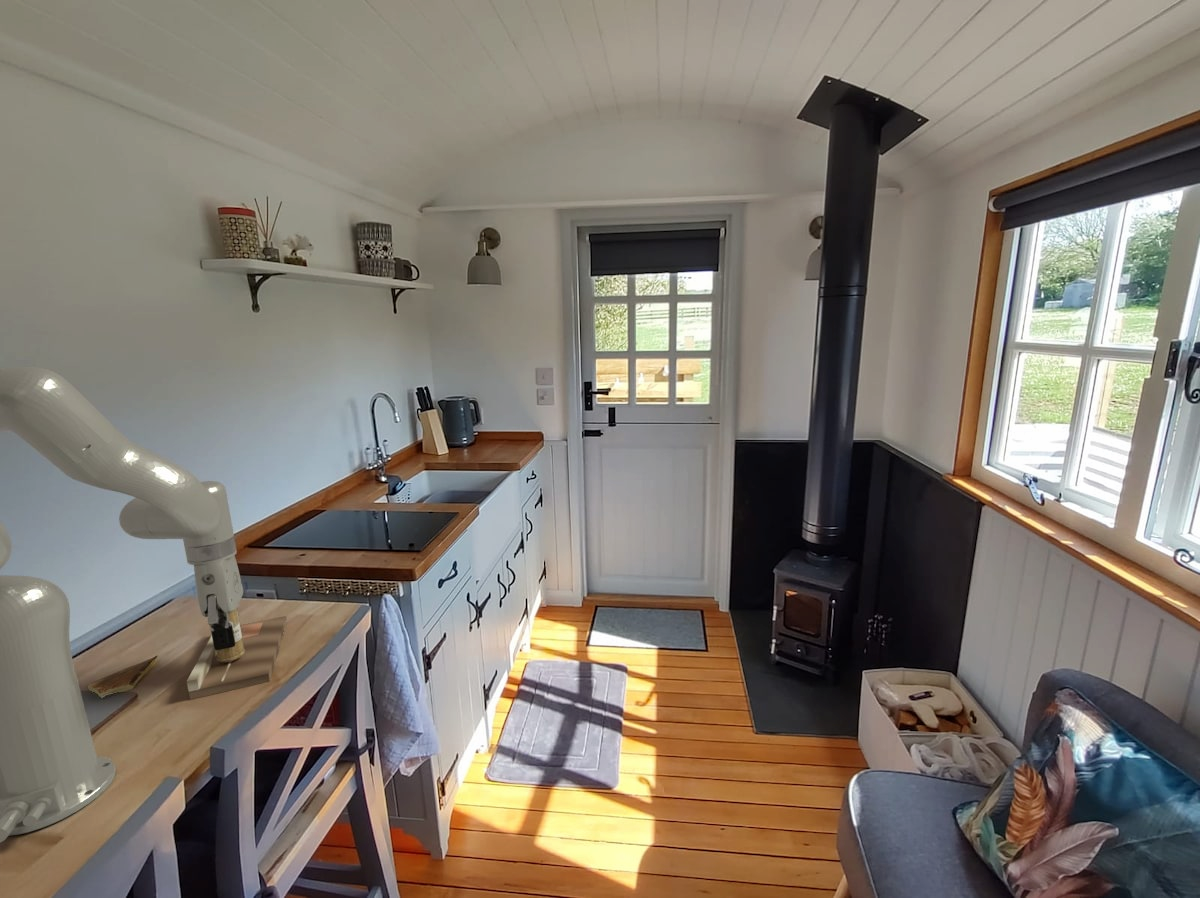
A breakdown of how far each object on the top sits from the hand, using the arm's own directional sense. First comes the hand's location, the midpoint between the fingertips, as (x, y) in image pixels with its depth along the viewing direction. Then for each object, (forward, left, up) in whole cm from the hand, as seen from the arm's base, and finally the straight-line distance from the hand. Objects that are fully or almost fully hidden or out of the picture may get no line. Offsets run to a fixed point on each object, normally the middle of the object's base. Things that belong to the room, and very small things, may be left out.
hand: (228, 640), depth 105 cm
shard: (+4, +19, -6) cm, 20 cm away
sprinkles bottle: (0, 0, -4) cm, 4 cm away
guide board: (+3, -1, -5) cm, 6 cm away
